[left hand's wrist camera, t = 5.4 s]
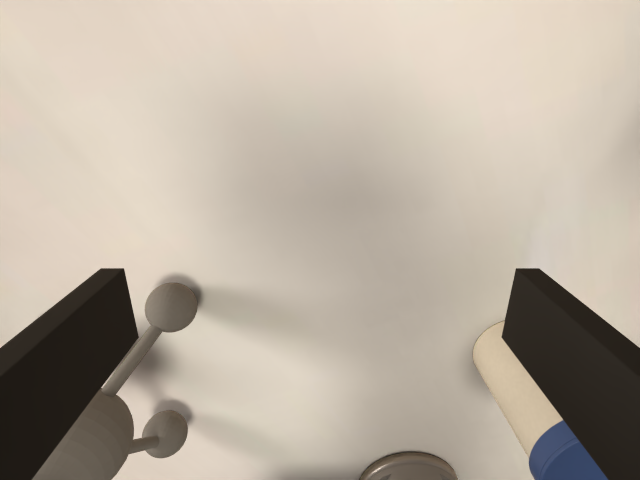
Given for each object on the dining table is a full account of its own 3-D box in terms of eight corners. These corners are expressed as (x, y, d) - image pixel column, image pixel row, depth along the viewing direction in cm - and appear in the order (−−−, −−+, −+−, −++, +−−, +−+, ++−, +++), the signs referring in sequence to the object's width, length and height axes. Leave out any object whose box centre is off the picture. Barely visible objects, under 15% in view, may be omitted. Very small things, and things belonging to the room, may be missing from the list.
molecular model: (275, 335, 46) (207, 700, 18) (180, 434, 52) (21, 821, 24) (106, 220, 41) (-358, 491, 13) (22, 346, 47) (-416, 715, 19)
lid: (516, 491, 36) (528, 515, 34) (545, 408, 32) (560, 429, 30) (623, 494, 36) (641, 518, 34) (664, 412, 32) (688, 433, 30)
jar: (466, 378, 49) (532, 506, 34) (480, 317, 46) (561, 429, 30) (536, 380, 49) (634, 509, 34) (556, 320, 46) (674, 433, 30)
